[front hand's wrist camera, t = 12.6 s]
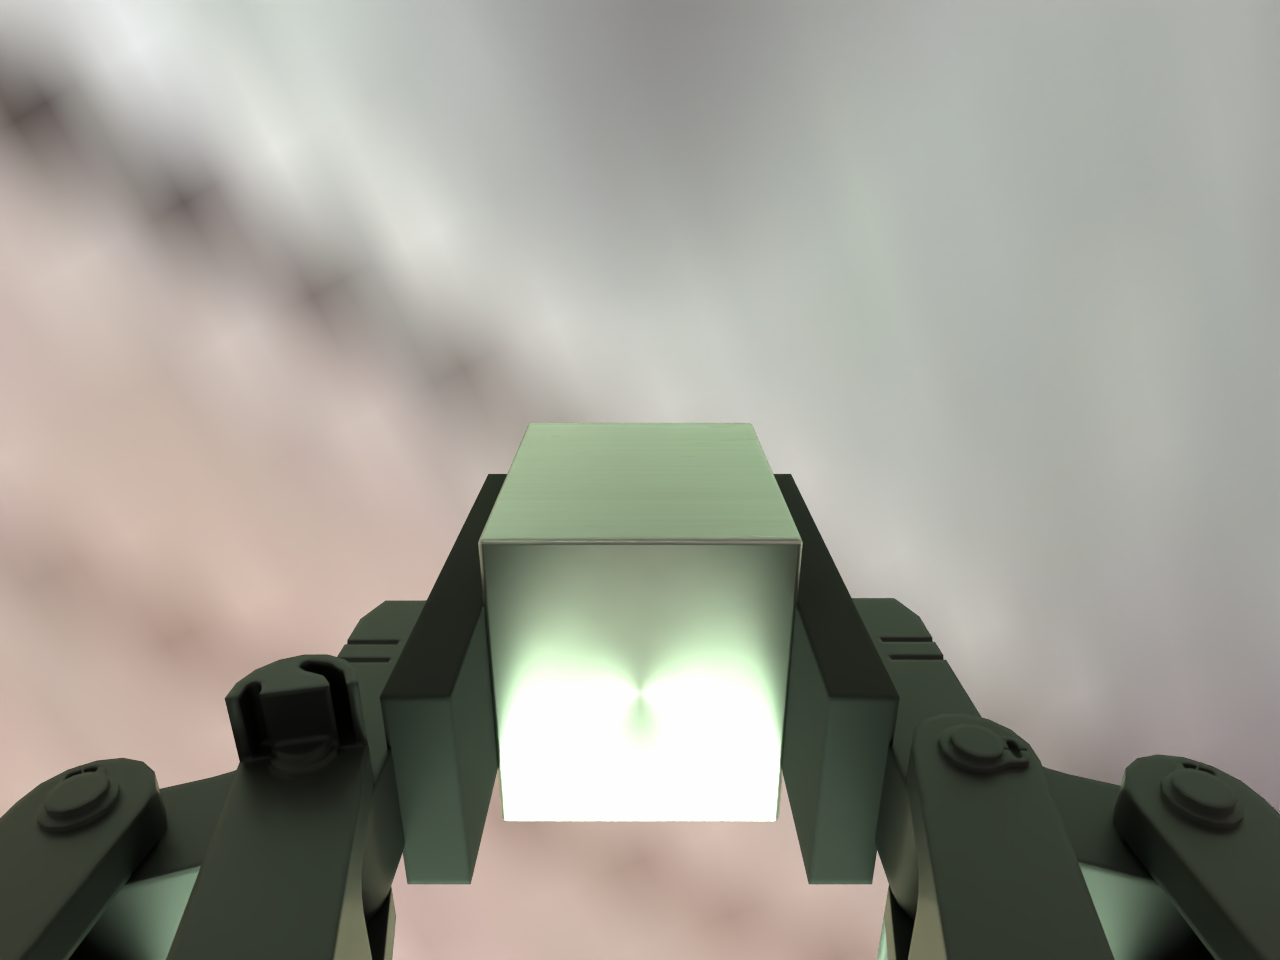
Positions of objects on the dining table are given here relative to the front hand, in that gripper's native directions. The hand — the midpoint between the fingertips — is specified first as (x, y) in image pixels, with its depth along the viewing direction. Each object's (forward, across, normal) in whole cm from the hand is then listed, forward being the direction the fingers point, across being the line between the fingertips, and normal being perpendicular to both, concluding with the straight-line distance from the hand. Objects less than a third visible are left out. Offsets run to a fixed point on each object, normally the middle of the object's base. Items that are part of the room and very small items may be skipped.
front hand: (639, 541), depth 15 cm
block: (0, 0, 0) cm, 0 cm away
